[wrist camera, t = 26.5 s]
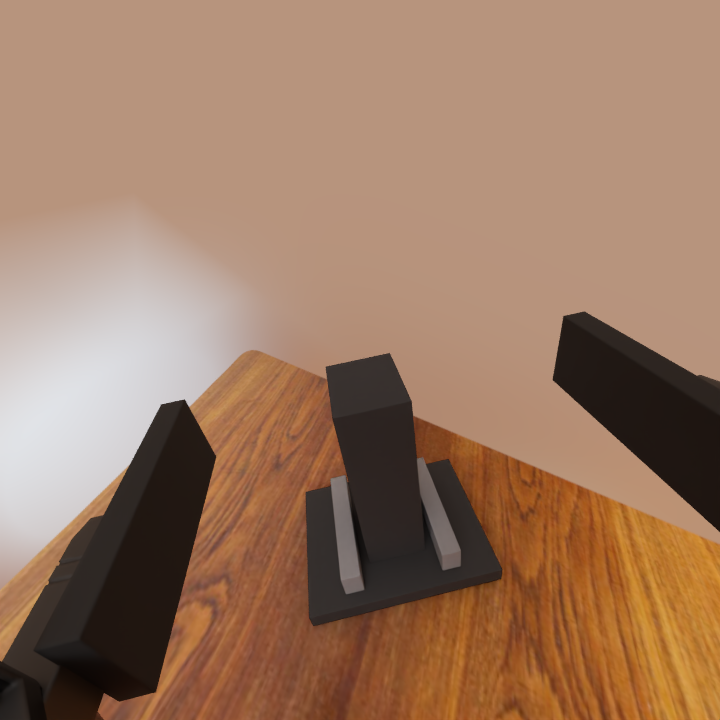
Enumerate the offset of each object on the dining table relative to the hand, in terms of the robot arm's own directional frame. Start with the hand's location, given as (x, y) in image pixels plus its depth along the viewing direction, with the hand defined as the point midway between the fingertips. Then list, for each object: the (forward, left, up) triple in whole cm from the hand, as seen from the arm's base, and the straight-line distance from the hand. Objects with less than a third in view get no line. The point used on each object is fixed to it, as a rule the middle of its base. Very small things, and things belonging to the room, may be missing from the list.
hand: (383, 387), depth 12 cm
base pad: (0, -10, -25) cm, 27 cm away
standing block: (0, -10, -24) cm, 26 cm away
